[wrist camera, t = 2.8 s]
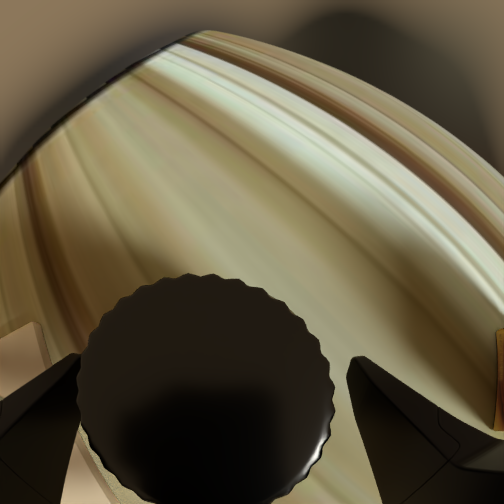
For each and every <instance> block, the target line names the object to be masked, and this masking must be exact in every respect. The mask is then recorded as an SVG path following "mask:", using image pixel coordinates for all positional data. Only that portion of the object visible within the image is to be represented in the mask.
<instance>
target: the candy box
mask: <svg viewBox="0 0 504 504" xmlns="http://www.w3.org/2000/svg"><path fill="white" fill-rule="evenodd" d="M496 337H497V348H498V386H497V401H496V414H495V421H494V428H493V430H494V431H504V328H502V329H499V330H498V331H497V332H496Z"/></svg>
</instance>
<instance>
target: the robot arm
mask: <svg viewBox="0 0 504 504" xmlns="http://www.w3.org/2000/svg"><path fill="white" fill-rule="evenodd" d="M80 369H81V354H77V353H71V354H69V355H68V356H66V357H65V358H63V359H62V360H60V361H59V362H57V363H56V364H54V365H53V366H51V367H50V368H48V369H47V370H45V371H44V372H42V373H41V374H39V375H38V376H36V377H35V378H33V379H32V380H30V381H29V382H27V383H26V384H24V385H23V386H21V387H20V388H18V389H17V390H15V391H14V392H13V393H11V394H10V395H8V396H7V397H5V398H4V399H3V400H1V401H0V504H61V498H62V493H63V488H64V483H65V479H66V474H67V470H68V466H69V461H70V457H71V453H72V450H73V446H74V442H75V438H76V435H77V431H78V428H79V424H80V421H81V412H80V410H79V408H78V405H77V402H76V400H77V395H78V391H79V390H78V385H77V380H76V377H77V375H78V372H79V371H80ZM346 380H347V385H348V389H349V394H350V398H351V403H352V408H353V412H354V416H355V420H356V423H357V426H358V429H359V432H360V435H361V438H362V440H363V443H364V446H365V449H366V452H367V456H368V459H369V462H370V465H371V468H372V471H373V474H374V477H375V480H376V484H377V487H378V490H379V493H380V497H381V500H382V503H383V504H504V440H501V439H497V438H494V437H492V436H490V435H488V434H486V433H484V432H482V431H480V430H478V429H476V428H474V427H472V426H470V425H468V424H466V423H464V422H463V421H461V420H459V419H457V418H456V417H454V416H452V415H451V414H449V413H448V412H446V411H445V410H443V409H442V408H440V407H438V406H437V405H435V404H434V403H432V402H431V401H429V400H428V399H426V398H425V397H424V396H422V395H421V394H419V393H418V392H416V391H415V390H413V389H412V388H410V387H409V386H407V385H406V384H404V383H403V382H401V381H400V380H399V379H397V378H396V377H394V376H393V375H391V374H390V373H388V372H387V371H385V370H384V369H383V368H381V367H380V366H378V365H377V364H375V363H374V362H372V361H371V360H370V359H368V358H367V357H365V356H357V357H353V358H352V359H351V362H350V365H349V368H348V371H347V375H346Z"/></svg>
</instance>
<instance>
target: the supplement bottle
mask: <svg viewBox="0 0 504 504" xmlns="http://www.w3.org/2000/svg"><path fill="white" fill-rule="evenodd" d="M329 371H330V363H329V361H328V360H327V359H326V357H324V356H323V355H322V353H321V350H320V342H319V339H317V338H316V337H315V336H314V335H312V334H311V333H310V332H309V331H308V329H307V327H306V324H305V322H304V320H303V319H302V318H300V317H298V316H296V315H295V314H294V313H293V312H292V311H291V310H290V309H289V308H288V306H287V305H286V304H285V302H283V301H280V300H277V299H275V298H274V297H272V296H270V295H268V293H267V292H266V291H265V290H264V289H263V288H258V287H250V286H247V285H246V284H245V283H244V282H243V281H241V280H240V279H223V278H221V277H220V276H218V275H215V274H209V275H205V276H201V277H200V276H197V275H193V274H189V273H187V274H185V275H182V276H180V277H178V278H176V279H173V278H162V279H160V280H159V281H157V282H156V283H155V284H153V285H145V286H140V287H139V288H138V289H137V290H136V291H135V292H134V293H133V294H132V295H131V296H128V297H124V298H121V299H120V300H119V301H118V303H117V304H116V306H115V307H114V309H113V310H111V311H109V312H107V313H105V314H104V315H103V316H102V319H101V321H100V324H99V326H98V327H97V328H96V329H95V330H93V331H92V332H91V333H90V336H89V340H88V346H87V347H86V349H85V350H84V351H83V353H82V354H81V369H80V371H79V372H78V375H77V377H76V380H77V385H78V390H79V391H78V395H77V400H76V402H77V405H78V408H79V410H80V412H81V426H82V428H83V430H84V431H85V433H86V434H87V435H88V441H89V445H90V448H91V449H92V450H93V451H94V452H95V453H96V454H97V455H98V456H99V457H100V460H101V462H102V464H103V466H104V468H105V469H106V470H108V471H109V472H111V473H112V474H114V475H115V476H116V478H117V480H118V481H119V482H120V484H121V485H122V486H124V487H126V488H127V489H130V490H132V491H134V492H135V493H136V494H137V495H138V496H139V497H140V498H141V499H142V500H144V501H147V502H151V503H155V504H271V503H272V502H273V501H274V500H275V499H277V498H280V497H283V496H285V495H288V494H289V493H290V492H291V490H292V489H293V488H294V486H295V485H296V484H297V483H299V482H301V481H303V480H304V479H306V478H307V476H308V474H309V472H310V469H311V467H312V466H313V465H314V464H315V463H316V462H317V461H318V460H319V459H320V458H321V456H322V448H323V446H324V444H325V443H326V442H327V440H328V439H329V437H330V436H331V429H330V422H331V421H332V419H333V416H334V414H335V407H334V404H333V401H332V398H333V395H334V390H335V386H334V384H333V381H332V380H331V379H330V377H329Z"/></svg>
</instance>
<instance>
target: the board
mask: <svg viewBox="0 0 504 504" xmlns="http://www.w3.org/2000/svg"><path fill="white" fill-rule="evenodd" d="M51 366H52V363H51V360H50V357H49V354H48V350H47V347H46V343H45V340H44V336H43V332H42V329H41V325H40V324H38V323H36V322H33V321H32V322H30V323H28V324H26V325H24V326H22V327H21V328H19V329H17V330H15V331H13V332H11V333H9V334H8V335H6V336H4V337H2V338H0V401H1V400H3V399H4V398H5V397H7V396H8V395H10V394H11V393H13V392H14V391H15V390H17V389H18V388H20V387H21V386H23V385H24V384H26V383H27V382H29V381H30V380H32V379H33V378H35V377H36V376H38V375H39V374H41V373H42V372H44V371H45V370H47V369H48V368H50V367H51ZM61 504H120V503H119V501H118V500H117V498H116V497H115V495H114V494H113V492H112V491H111V489H110V488H109V486H108V484H107V483H106V481H105V479H104V478H103V476H102V475H101V473H100V471H99V469H98V468H97V466H96V464H95V462H94V461H93V459H92V457H91V455H90V453H89V451H88V449H87V448H86V446H85V444H84V442H83V440H82V438H81V436H80V433H79V431H77V435H76V438H75V442H74V446H73V450H72V453H71V457H70V461H69V466H68V470H67V474H66V479H65V483H64V488H63V493H62V498H61Z"/></svg>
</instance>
